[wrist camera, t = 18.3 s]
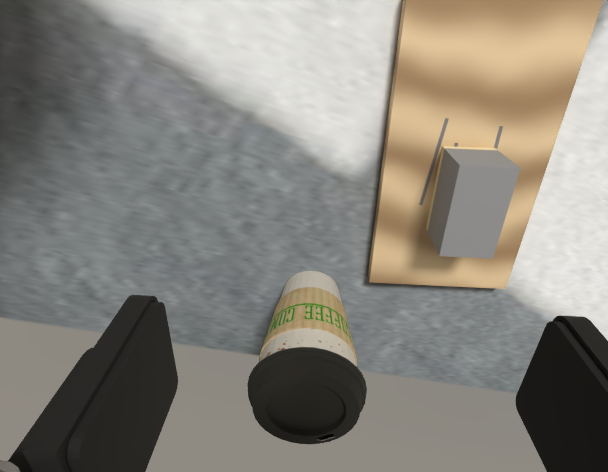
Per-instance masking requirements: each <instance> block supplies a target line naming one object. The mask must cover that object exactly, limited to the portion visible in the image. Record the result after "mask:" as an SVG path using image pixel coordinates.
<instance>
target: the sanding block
mask: <svg viewBox="0 0 608 472" xmlns="http://www.w3.org/2000/svg"><path fill="white" fill-rule="evenodd" d="M520 169H521V168H520V167H519V166H517V165H516V164H515V163H514V162H512V161H511V160H510V159H508V158H507V157H506V156H505V155H503V154H502V153H501V152H500V151H498V150H497V149H496V148H476V147H451V146H442V151H441V156H440V161H439V166H438V171H437V176H436V181H435V186H434V191H433V196H432V201H431V206H430V211H429V216H428V221H427V226H426V229H427V231H428V234H429V236H430V238H431V240H432V242H433V244H434V246H435V248H436V250H437V252H438V255H439V256H447V257H469V258H491V259H493V257H494V253H495V250H496V247H497V244H498V240H499V237H500V234H501V231H502V227H503V224H504V221H505V218H506V214H507V211H508V208H509V204H510V201H511V198H512V195H513V191H514V188H515V185H516V182H517V178H518V175H519V172H520Z"/></svg>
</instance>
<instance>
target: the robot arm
mask: <svg viewBox="0 0 608 472" xmlns="http://www.w3.org/2000/svg"><path fill="white" fill-rule="evenodd" d="M177 385H178V376H177V372H176V366H175V360H174V355H173V349H172V343H171V338H170V332H169V327H168V321H167V316H166V310H165V306H164V304H163V303H162V302H158V300H157V298H156V297H155V296H143V295H131V296H129V297H128V298H127V300H126V301H125V303H124V304H123V306H122V307H121V309H120V310H119V311H118V313H117V314H116V316H115V317H114V319H113V320H112V322H111V323H110V325H109V326H108V327H107V329H106V330H105V332H104V333H103V335H102V336H101V338H100V339H99V341H98V342H97V344H96V345H95V347H94V348H90V349H89V350H87V351H86V352H85V353H84V354H83V355H82V357H81V358H80V360H79V361H78V362H77V364H76V365H75V367H74V368H73V370H72V371H71V372H70V374H69V375H68V377H67V378H66V379H65V381H64V382H63V384H62V385H61V387H60V388H59V390H58V391H57V393H56V394H55V395H54V397H53V398H52V399H51V401H50V402H49V404H48V405H47V406H46V408H45V409H44V411H43V412H42V414H41V415H40V416H39V418H38V419H37V421H36V422H35V424H34V425H33V426H32V428H31V429H30V431H29V432H28V433H27V435H26V436H25V438H24V439H23V441H22V442H21V443H20V445H19V447H18V448H17V449H16V451H15V452H14V453H13V455H12V456H11V458H10V459H9V461H2V460H0V472H145V471H146V468H147V466H148V463H149V460H150V458H151V455H152V453H153V450H154V447H155V445H156V442H157V440H158V437H159V435H160V432H161V429H162V427H163V424H164V422H165V419H166V417H167V414H168V412H169V409H170V406H171V404H172V401H173V399H174V396H175V393H176V390H177ZM516 407H517V410H518V413H519V415H520V417H521V419H522V421H523V423H524V425H525V427H526V429H527V431H528V433H529V435H530V437H531V440H532V442H533V443H534V446H535V448H536V450H537V452H538V453H539V456H540V458H541V460H542V462H543V464H544V466H545V468H546V470H547V472H608V341H607V340H606V338H605V337H604V336H603V335H602V334H601V333H600V332H599V330H598V329H597V328H596V327H595V326H594V325H593V323H592V322H591V321H590V320H589V319H587V318H585V317H576V316H557V317H556V318H554V320H553V321H552V322H549V323H547V325H546V327H545V329H544V332H543V334H542V336H541V339H540V341H539V344H538V346H537V348H536V351H535V353H534V355H533V358H532V360H531V362H530V365H529V367H528V369H527V372H526V374H525V377H524V379H523V381H522V384H521V386H520V388H519V391H518V393H517V396H516Z"/></svg>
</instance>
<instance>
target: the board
mask: <svg viewBox="0 0 608 472" xmlns="http://www.w3.org/2000/svg"><path fill="white" fill-rule="evenodd" d="M602 2H603V0H403V4H402V11H401V19H400V27H399V35H398V43H397V51H396V58H395V66H394V74H393V82H392V90H391V98H390V105H389V113H388V121H387V129H386V137H385V145H384V152H383V160H382V168H381V176H380V184H379V192H378V199H377V207H376V215H375V223H374V231H373V239H372V246H371V254H370V262H369V270H368V277H369V282H371V283H393V284H414V285H435V286H456V287H478V288H499V289H505V288H506V286H507V283H508V280H509V277H510V274H511V271H512V268H513V265H514V262H515V259H516V256H517V253H518V250H519V247H520V244H521V241H522V238H523V235H524V232H525V229H526V226H527V224H528V221H529V218H530V215H531V212H532V209H533V206H534V203H535V200H536V197H537V194H538V191H539V188H540V185H541V182H542V179H543V176H544V173H545V170H546V167H547V164H548V162H549V159H550V156H551V153H552V150H553V147H554V144H555V141H556V138H557V135H558V132H559V129H560V126H561V123H562V120H563V117H564V114H565V111H566V108H567V105H568V102H569V100H570V97H571V94H572V91H573V88H574V85H575V82H576V79H577V76H578V73H579V70H580V67H581V64H582V61H583V58H584V55H585V52H586V49H587V46H588V43H589V40H590V38H591V35H592V32H593V29H594V26H595V23H596V20H597V17H598V14H599V11H600V8H601V5H602ZM442 146H451V147H476V148H496V149H497V150H498V151H500V152H501V153H502V154H503V155H505V156H506V157H507V158H508V159H510V160H511V161H512V162H514V163H515V164H516V165H517V166H519V167H520V168H521V169H520V172H519V175H518V178H517V182H516V185H515V188H514V191H513V195H512V198H511V201H510V204H509V208H508V211H507V214H506V218H505V221H504V224H503V227H502V231H501V234H500V237H499V240H498V244H497V247H496V250H495V253H494V257H493V259H491V258H469V257H447V256H439V255H438V252H437V250H436V248H435V246H434V244H433V242H432V240H431V238H430V236H429V234H428V231H427V229H426V226H427V221H428V216H429V211H430V206H431V201H432V196H433V191H434V186H435V181H436V176H437V171H438V166H439V161H440V156H441V151H442Z"/></svg>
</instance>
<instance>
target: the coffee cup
mask: <svg viewBox="0 0 608 472" xmlns="http://www.w3.org/2000/svg"><path fill="white" fill-rule="evenodd" d="M366 391H367V389H366V382H365V379H364V377H363V375H362V373H361V372H360V370H359V369H358V368H357V359H356V354H355V350H354V346H353V342H352V338H351V334H350V330H349V326H348V322H347V318H346V314H345V310H344V307H343V305H342V302H341V298H340V294H339V290H338V287H337V285H336V283H335V282H334V280H333V279H332V278H330V277H329V276H327V275H326V274H324V273H321V272H317V271H304V272H300V273H298V274H296V275H294V276H292V277H291V278H290V279H289V280H288V281H287V283H286V285H285V287H284V290H283V293H282V296H281V299H280V301H279V302H278V304H277V306H276V309H275V312H274V315H273V318H272V320H271V323H270V326H269V329H268V332H267V335H266V338H265V341H264V344H263V346H262V349H261V353H260V357H259V363H258V364H257V365H256V366H255V367H254V369H253V370H252V372H251V374H250V376H249V380H248V397H249V400H250V403H251V406H252V407H253V413H254V416H255V418H256V420H257V421H258V423H259V424H260V425H261V426H262V427H263V428H264V429H265V430H266V431H268V432H269V433H271V434H272V435H273V436H276V437H278V438H280V439H283V440H286V441H289V442H294V443H299V444H318V443H324V442H329V441H332V440H335V439H337V438H339V437H341V436H343V435H345V434H346V433H347V432H349V431H350V430H351V429H352V428H353V426H354V425H355V424H356V423H357V420H358V418H359V414H360V412H361V411H362V409H363V406H364V404H365V399H366Z"/></svg>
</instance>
